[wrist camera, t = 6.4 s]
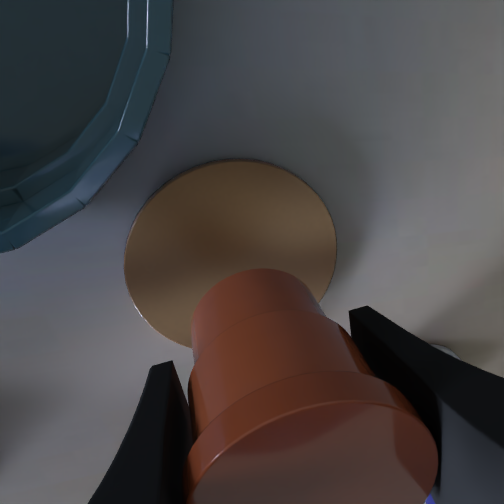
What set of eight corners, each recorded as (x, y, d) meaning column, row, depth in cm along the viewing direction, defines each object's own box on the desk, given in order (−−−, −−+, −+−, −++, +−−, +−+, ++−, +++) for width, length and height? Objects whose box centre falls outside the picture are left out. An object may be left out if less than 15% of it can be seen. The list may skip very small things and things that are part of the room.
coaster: (342, 317, 22) (345, 322, 22) (159, 368, 21) (159, 374, 21) (322, 134, 18) (326, 136, 17) (91, 190, 17) (90, 194, 17)
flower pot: (342, 363, 17) (437, 534, 12) (193, 406, 17) (217, 608, 11) (326, 229, 14) (442, 367, 9) (148, 276, 14) (149, 454, 8)
